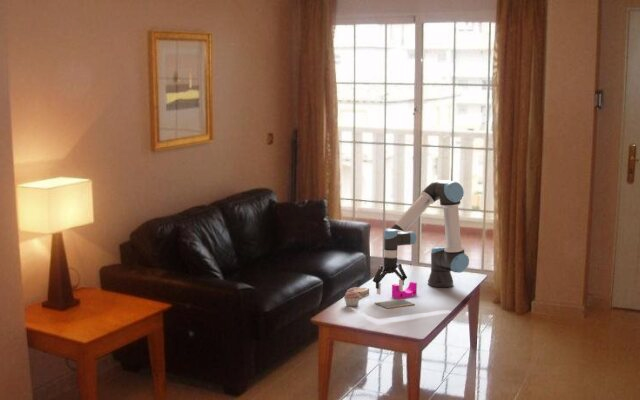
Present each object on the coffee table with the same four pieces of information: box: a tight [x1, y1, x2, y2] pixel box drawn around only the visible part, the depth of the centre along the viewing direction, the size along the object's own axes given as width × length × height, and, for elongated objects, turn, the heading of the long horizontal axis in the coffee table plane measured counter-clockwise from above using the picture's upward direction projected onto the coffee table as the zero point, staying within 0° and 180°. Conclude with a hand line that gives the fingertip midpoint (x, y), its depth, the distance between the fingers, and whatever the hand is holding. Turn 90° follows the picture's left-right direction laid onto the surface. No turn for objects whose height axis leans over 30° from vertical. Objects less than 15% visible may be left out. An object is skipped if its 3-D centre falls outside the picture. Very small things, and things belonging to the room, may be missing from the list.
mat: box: [374, 298, 415, 310], centre depth 430 cm, size 18×12×1 cm, turn 117°
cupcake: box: [343, 287, 361, 308], centre depth 428 cm, size 9×9×10 cm
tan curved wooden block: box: [346, 286, 370, 299], centre depth 450 cm, size 4×10×9 cm
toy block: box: [391, 281, 418, 300], centre depth 449 cm, size 15×6×8 cm, turn 122°
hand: (389, 293), depth 441 cm, fingers open, 14 cm apart
